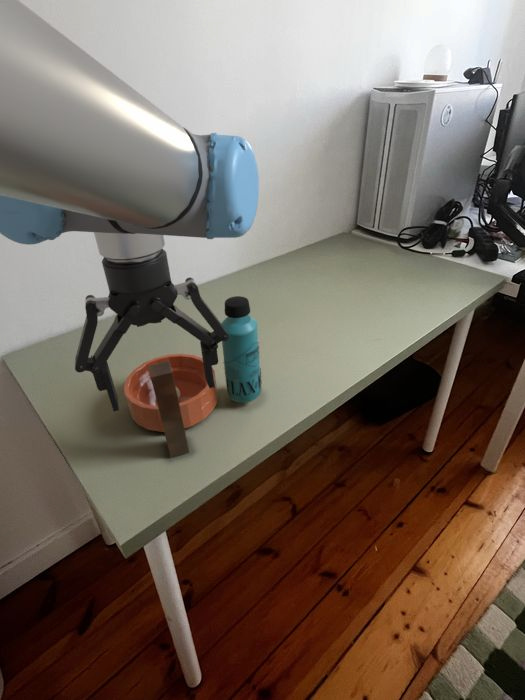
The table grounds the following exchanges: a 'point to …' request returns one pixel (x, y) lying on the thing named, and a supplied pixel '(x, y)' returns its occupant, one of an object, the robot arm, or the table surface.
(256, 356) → the beverage bottle
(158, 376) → the stick
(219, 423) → the table surface
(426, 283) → the table surface
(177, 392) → the bead
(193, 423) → the bowl
